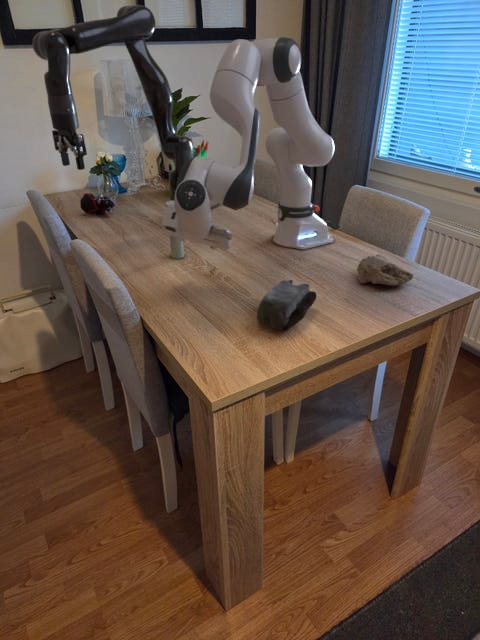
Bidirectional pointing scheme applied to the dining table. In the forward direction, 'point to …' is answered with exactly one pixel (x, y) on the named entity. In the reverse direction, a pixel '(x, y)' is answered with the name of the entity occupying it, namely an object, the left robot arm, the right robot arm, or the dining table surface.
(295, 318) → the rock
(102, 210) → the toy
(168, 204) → the lid
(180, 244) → the bottle
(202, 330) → the dining table surface
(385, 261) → the artifact
